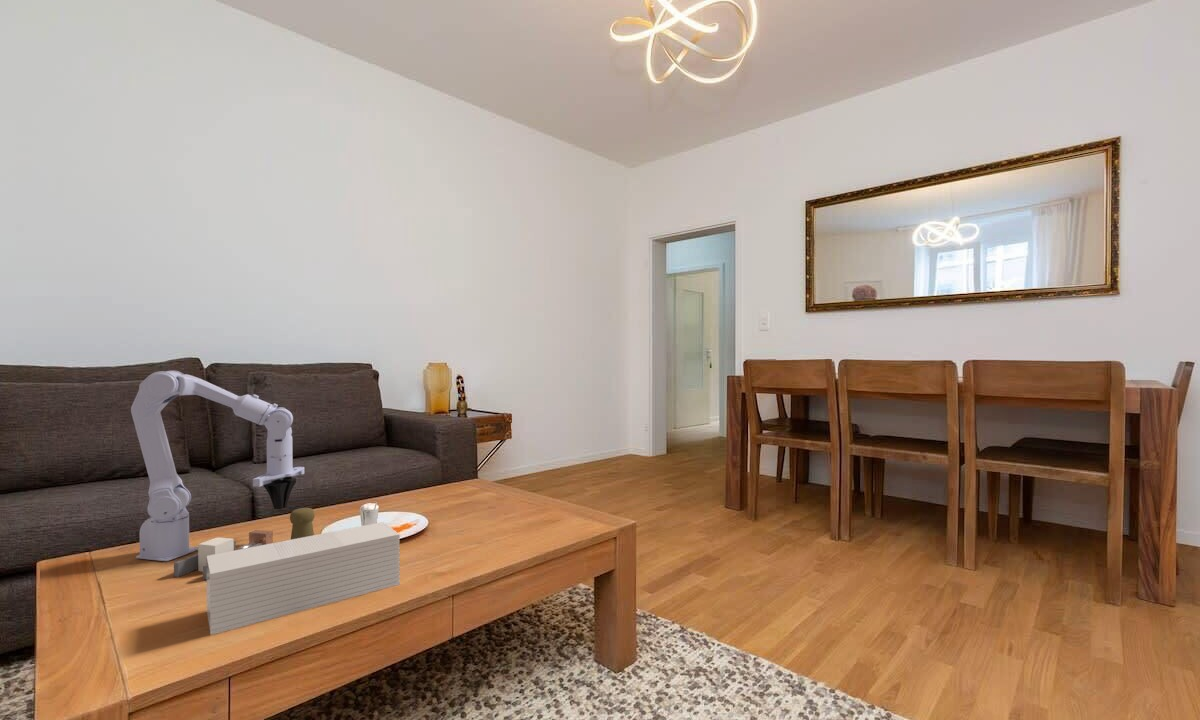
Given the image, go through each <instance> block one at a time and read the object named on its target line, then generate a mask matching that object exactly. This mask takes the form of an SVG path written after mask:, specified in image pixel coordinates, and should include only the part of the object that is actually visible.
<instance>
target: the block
mask: <svg viewBox="0 0 1200 720" xmlns="http://www.w3.org/2000/svg"><path fill="white" fill-rule="evenodd" d="M234 541H235V540H234V538H229V537H228V538H227V537H215V538H212V539H209V540H205V541H203V542H200V543H198V544H197V548H198V550H197V554H198V569H197V570H198V572H203V566H204V565H206V562H207V561H206V556H209V555H214V554H219V553H224V552H229V551H234Z"/></svg>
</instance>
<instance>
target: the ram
mask: <svg viewBox="0 0 1200 720" xmlns="http://www.w3.org/2000/svg"><path fill="white" fill-rule="evenodd" d="M273 536H274V532H273V530H264V529H263V530H262V529H255V530H251V531H249V532H248V543H246V544H244V545H241V546H239V547H236V548H235V547H234V551H235V550H240V549H245V548H248V547H250V546H253V545H255V544H258V543H261V544H263V545H266V544H271V543H274V542H273V541H274V537H273Z"/></svg>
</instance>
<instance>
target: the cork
mask: <svg viewBox="0 0 1200 720" xmlns="http://www.w3.org/2000/svg"><path fill="white" fill-rule="evenodd" d="M315 516H316V513H315V511H314V510H313V508H310V507H300V508H296V509H294V510H292V511H291V512H290V515H289V521H290V523H291V524H292V526H291V533H290V534H291V535H290V540H292V539H297V538H302V537H308V536H313V535H315V532H314V526H313V521H314V520H315Z"/></svg>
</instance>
